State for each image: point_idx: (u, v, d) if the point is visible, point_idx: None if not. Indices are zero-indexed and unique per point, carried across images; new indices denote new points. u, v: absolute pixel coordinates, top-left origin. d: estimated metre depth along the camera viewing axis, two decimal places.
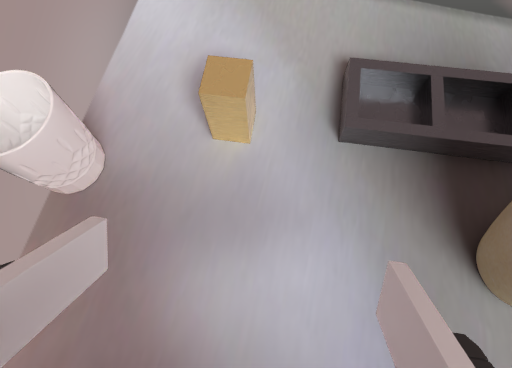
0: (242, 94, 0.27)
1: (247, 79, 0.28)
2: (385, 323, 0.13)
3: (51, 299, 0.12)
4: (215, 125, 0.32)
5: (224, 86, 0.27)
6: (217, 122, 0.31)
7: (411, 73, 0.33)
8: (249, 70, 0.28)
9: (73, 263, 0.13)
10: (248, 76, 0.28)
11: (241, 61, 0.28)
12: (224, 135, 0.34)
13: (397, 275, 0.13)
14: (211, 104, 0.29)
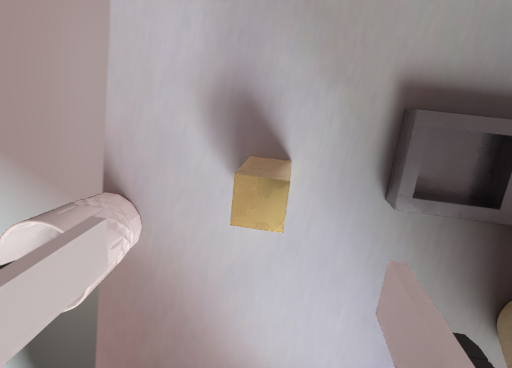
0: (279, 228, 0.24)
1: (284, 208, 0.24)
2: (385, 323, 0.13)
3: (51, 299, 0.12)
4: None
5: (258, 217, 0.24)
6: None
7: (496, 134, 0.25)
8: (286, 196, 0.23)
9: (73, 263, 0.13)
10: (285, 204, 0.24)
11: (276, 183, 0.23)
12: None
13: (397, 275, 0.13)
14: None
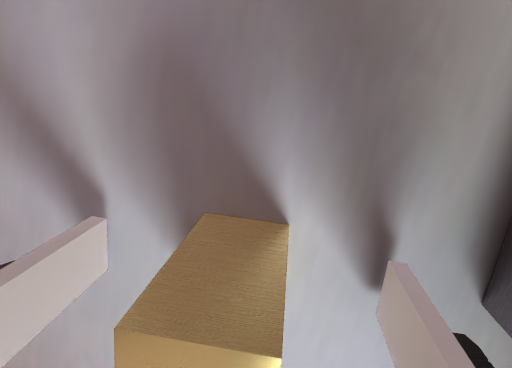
0: None
1: None
2: (385, 323, 0.13)
3: (51, 299, 0.12)
4: None
5: None
6: None
7: None
8: None
9: (73, 263, 0.13)
10: None
11: (241, 362, 0.08)
12: None
13: (397, 275, 0.13)
14: None
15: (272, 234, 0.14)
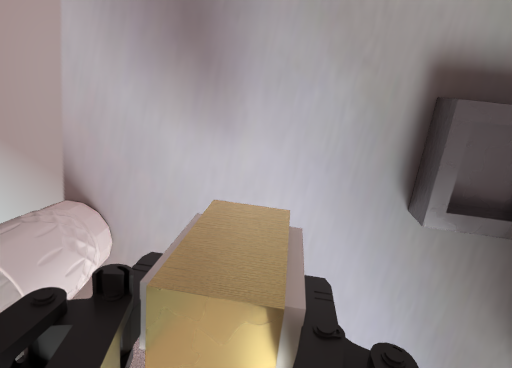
0: None
1: None
2: None
3: None
4: None
5: None
6: None
7: None
8: (275, 342, 0.09)
9: None
10: (273, 360, 0.10)
11: (251, 313, 0.09)
12: None
13: None
14: None
15: (275, 218, 0.15)
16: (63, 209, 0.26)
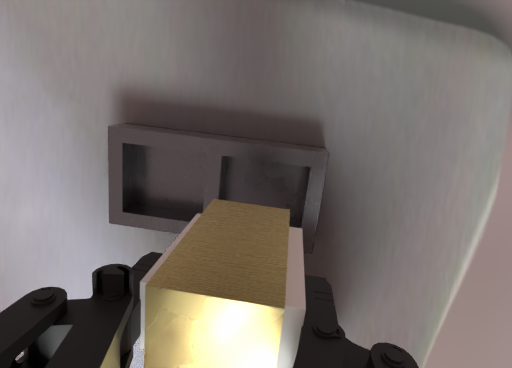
0: None
1: None
2: None
3: None
4: None
5: None
6: None
7: (183, 150, 0.26)
8: (275, 342, 0.09)
9: None
10: (273, 359, 0.09)
11: (251, 312, 0.09)
12: None
13: None
14: None
15: (275, 217, 0.15)
16: None
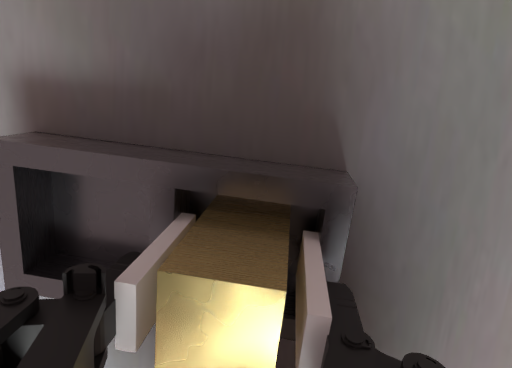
0: None
1: (273, 347, 0.10)
2: (297, 282, 0.16)
3: None
4: None
5: (215, 362, 0.11)
6: None
7: (112, 179, 0.16)
8: (278, 323, 0.10)
9: None
10: (276, 340, 0.10)
11: (255, 295, 0.10)
12: None
13: (304, 240, 0.15)
14: None
15: (276, 211, 0.16)
16: None
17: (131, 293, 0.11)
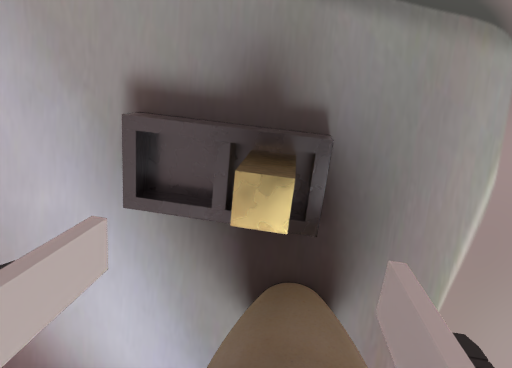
0: (283, 229, 0.22)
1: (288, 208, 0.22)
2: (385, 323, 0.13)
3: (51, 299, 0.12)
4: None
5: (260, 217, 0.22)
6: None
7: (194, 137, 0.27)
8: (291, 195, 0.22)
9: (73, 263, 0.13)
10: (290, 203, 0.22)
11: (280, 181, 0.21)
12: None
13: (397, 275, 0.13)
14: None
15: (288, 157, 0.28)
16: None
17: None
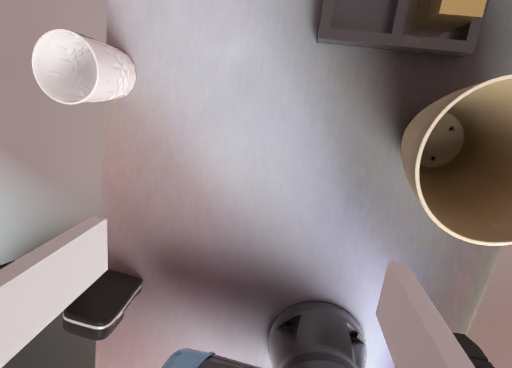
0: (480, 13, 0.31)
1: None
2: (385, 323, 0.13)
3: (51, 299, 0.12)
4: (425, 25, 0.36)
5: (463, 4, 0.31)
6: (431, 24, 0.36)
7: None
8: None
9: (73, 263, 0.13)
10: None
11: None
12: (426, 28, 0.38)
13: (397, 275, 0.13)
14: (441, 18, 0.33)
15: None
16: None
17: None
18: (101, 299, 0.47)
